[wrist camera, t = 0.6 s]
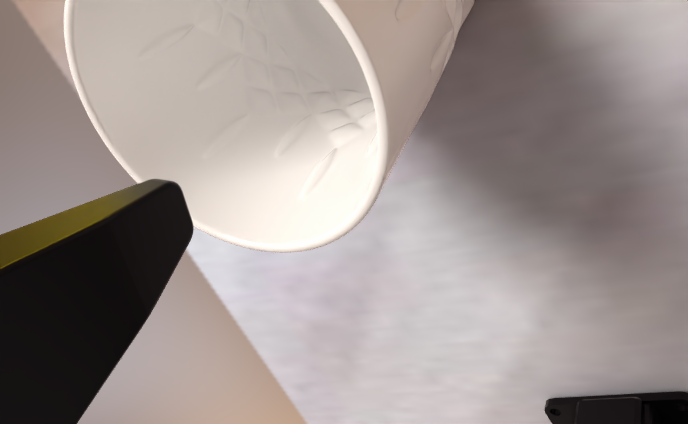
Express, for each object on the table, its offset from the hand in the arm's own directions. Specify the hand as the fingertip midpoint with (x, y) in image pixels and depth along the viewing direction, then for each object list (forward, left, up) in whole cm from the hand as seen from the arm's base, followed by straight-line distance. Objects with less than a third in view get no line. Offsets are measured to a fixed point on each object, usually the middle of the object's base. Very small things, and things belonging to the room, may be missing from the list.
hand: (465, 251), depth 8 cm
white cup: (+3, +6, -14) cm, 15 cm away
